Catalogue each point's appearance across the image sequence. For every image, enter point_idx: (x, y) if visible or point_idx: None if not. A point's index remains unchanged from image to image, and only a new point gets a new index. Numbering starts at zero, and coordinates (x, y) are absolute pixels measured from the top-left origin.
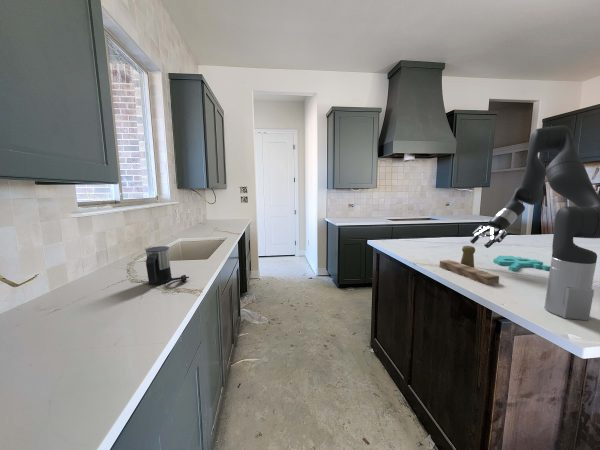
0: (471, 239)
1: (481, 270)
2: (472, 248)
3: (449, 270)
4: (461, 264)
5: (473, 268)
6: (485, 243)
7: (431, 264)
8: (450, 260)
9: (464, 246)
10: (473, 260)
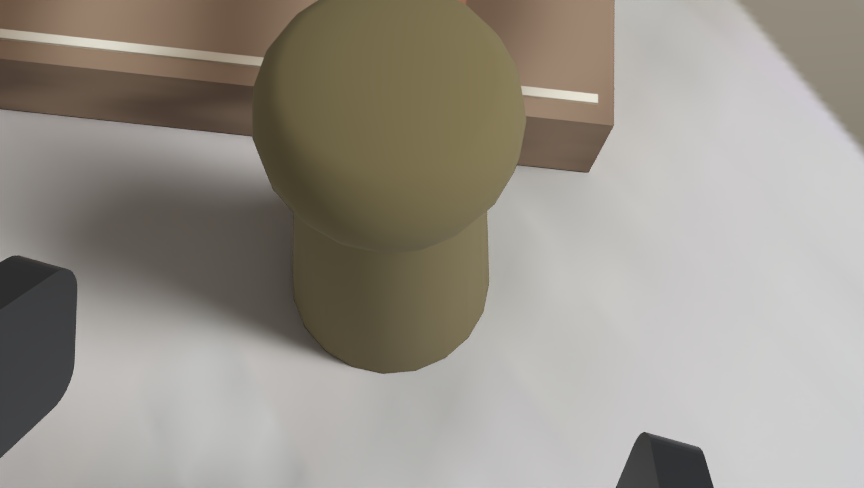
0: (697, 482)
1: (44, 53)
2: (269, 49)
3: None
4: None
5: (155, 42)
6: (24, 284)
7: (707, 21)
8: (568, 91)
9: (453, 8)
10: (294, 235)
